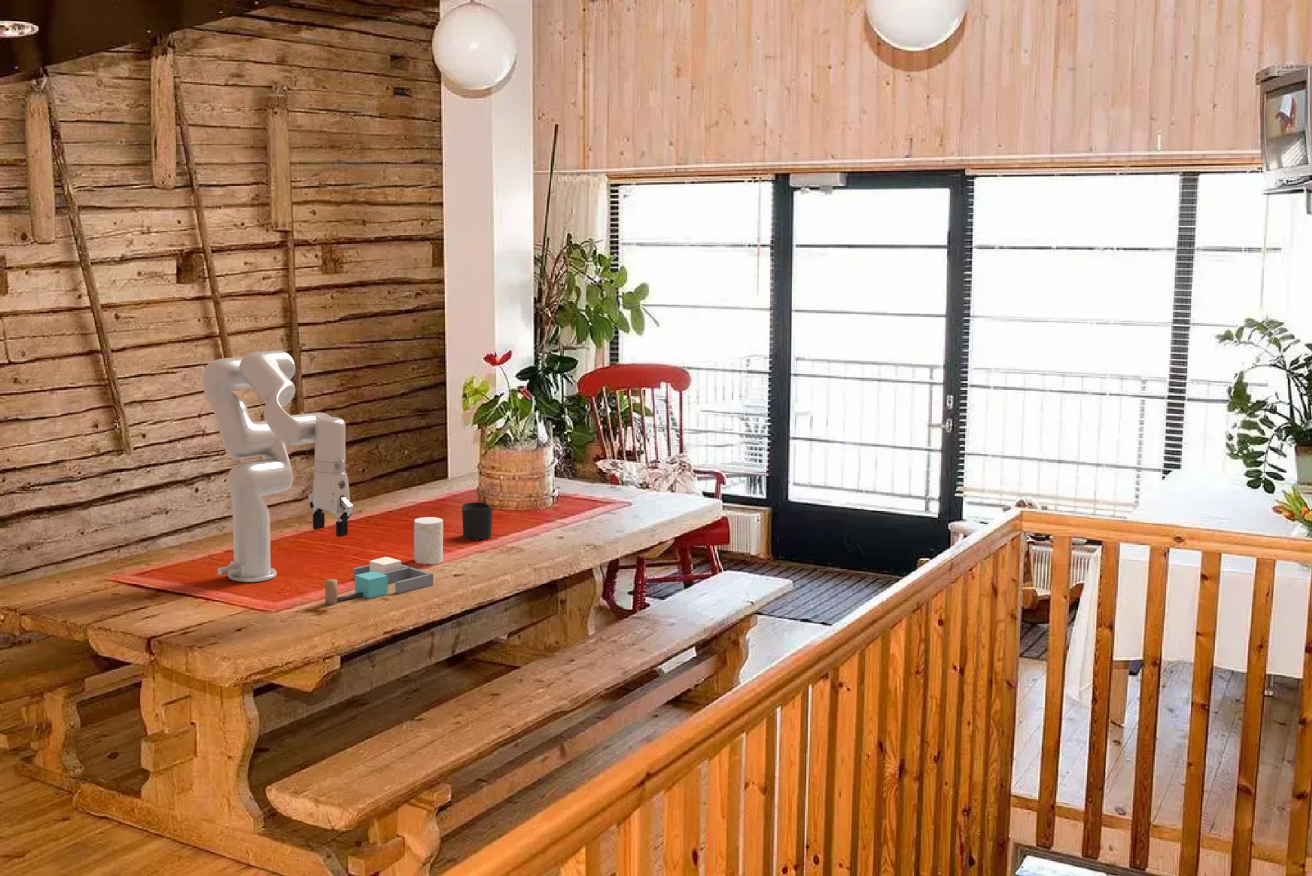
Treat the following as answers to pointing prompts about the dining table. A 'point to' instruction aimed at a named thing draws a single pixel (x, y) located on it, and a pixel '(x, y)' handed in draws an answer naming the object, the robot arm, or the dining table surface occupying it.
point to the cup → (428, 540)
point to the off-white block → (384, 565)
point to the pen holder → (477, 520)
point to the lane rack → (403, 577)
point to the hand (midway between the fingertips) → (330, 532)
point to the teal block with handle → (358, 587)
